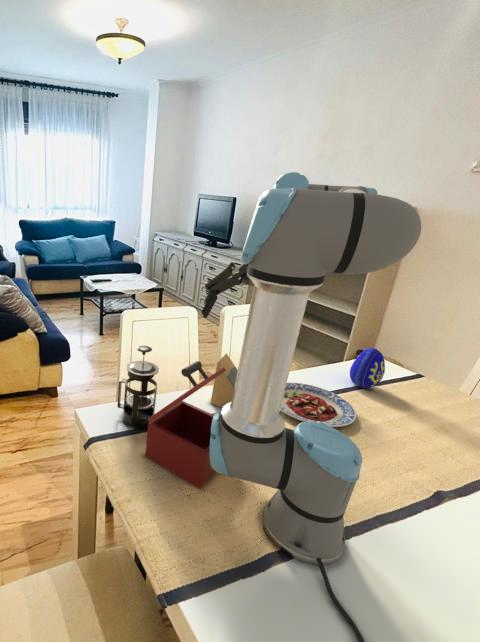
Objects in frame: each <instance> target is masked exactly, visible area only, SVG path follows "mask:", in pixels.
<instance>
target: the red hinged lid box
mask: <svg viewBox="0 0 480 642" xmlns="http://www.w3.org/2000/svg"><path fill="white" fill-rule="evenodd" d="M213 416H214V414H212V413H210V412H208V411H206V410H203V409H202V408H199V407H197V406H195V405H194V404H193V405H192V404H190V403H189V402H186V401H184V400H183V401H181V402H180V403H178V404H177V405H175V406H174V407H172V408H171V409H169V410H168V411H166V412H165V413H163V414H162V415H161V416H159V417H158V418H156V419H155V420H153V421H152V422H149V423H148V428H147V435H146V445H145V454H144V456H145V457H146V458H148V459H149V460H151V461H153V462H155V463H156V464H158V465H160V466H161V467H162V468H165V469H166V470H168V471H169V472H172V473H173V474H175V475H176V476H177V477H179V478H181V479H183V480H184V481H186V482H188V483H189V484H191V485H193V486H194V487H196V488H197V489H199V490H200V489H202V488H203V487H204V486H205V484H207V483H208V481H209V480H210V479H211V478H212V477H214V475H215V474H216V473H217V472H216V471H215V470H214V469H213V468H212V467H211V464H210V439H211V426H212V419H213Z"/></svg>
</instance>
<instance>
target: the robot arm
mask: <svg viewBox="0 0 480 642" xmlns="http://www.w3.org/2000/svg"><path fill="white" fill-rule="evenodd" d="M421 233H422V220H421V216H420V214H419V212H418V211H417V209H416V208H415V207H414V206H413V205H412V204H410V203H408V202H407V201H405V200H402V199H400V198H398V197H397V198H396V197H392V196H388V195H384V194H378V191H377V189H376V188H374V187H367V186H361V185H358V186H349V185H332V184H331V185H329V184H318V183H317V184H316V183H310V181H309V178H307V176H305V174H300V173H299V172H297V171H291V172H286V173H284V174H282V175H280V176H279V177H278V178H277V179H276V180H275V182H274V185H273V188H270V189H267V190H265V191H264V192H262V193H261V194H260V196H259V198H258V201H257V203H256V207H255V210H254V212H253V217H252V218H251V222H250V224H249V229H248V231H247V235H246V237H245V241H244V246H243V248H242V252H241V255H240V258H239V260H240V262H241V263H242V264H241V265H237V264H236V263H235V262H233V261H232V262H230V263H229V264H228V265H227V267H226V268H225V269H223V270H222V271H221V272H220V273H219V274H217V275H215V276H214V277H213V278H212V279H211V280H209V281H208V282H207V283H206V284H204V288H205V291H206V292H207V295H206V296H205V299H204V303H205V304H204V306H203V308H202V310H201V315H202V317H203V319H207V318H208V316H209V315H210V313H211V311H212V309H213V307H214V306H215V304H216V302H217V300H218V298H219V297H218V295H220V294H222V293H224V292H226V291H228V290H230V289H232V288H234V287H236V286H240V285H245V286H251V287H253V288H252V294H251V300H250V304H249V309H248V315H247V319H246V324H245V329H244V330H245V331H244V335H243V340H242V346H241V351H240V357H239V361H238V366H237V370H238V371H237V377H236V382H235V387H234V392H233V397H232V402H229V403H227V404H226V405H225V406H224V407H223V408H222V407H221V412H215V413H213V415H214V416H213V419H212V426H211V439H210V464H211V467H212V468H213V469H214V470H215V471H216V473H218V474H221V475H223V476H227V477H229V478H231V479H239V480H242V481H246V482H250V483H252V484H253V483H254V484H257V485H260V486H264V487H268V488H273V489H276V490H277V491H276V492H275V493H273V495H272V496H271V498H270V499H269V500H268V501H267V503H266V504H265V506H264V509H263V511H262V516H261V521H262V526H263V529H264V532H265V534H266V535H267V537H268V538H269V540H271V542H272V543H273V544H274V545H275V546H276V547H277V548H278V549H279V550H281V551H282V552H284V553H285V555H288V556H290V557H291V558H293V559H295V560H297V561H300V562H303V563H305V564H308V565H309V564H310V565H315V566H318V567H319V571H320V573H321V575H322V578H323V582H324V585H325V588H326V591H327V593H328V595H329V597H330V599H331V600H332V602H333V604H334V606H335V607H336V608H337V609H338V611H339V613H340V614H341V616H343V618H344V619H345V620H346V622H347V623H348V625H349V626H350V628H351V629H352V631H353V633H354V634H355V636H356V638H357V641H358V642H365V639H364V637H363V635H362V633H361V631H360V630H359V627H358V626H357V625H356V623H355V622H354V620H353V619H352V617H351V616H350V615H349V614H348V613H347V611H346V610H345V608H344V607H343V605H342V604H341V603H340V602H339V600H338V598H337V597H336V595H335V593H334V591H333V589H332V586H331V583H330V579H329V576H328V574H327V571H326V568H325V566H326V565H327V566H328V565H331V564H334V563H335V562H337V561H338V560H340V558H341V557H342V555H343V552H344V550H345V547H346V533H345V519H344V517H345V516H344V515H345V513H346V510H347V508H348V505H349V503H350V500H351V497H352V494H353V492H354V489H355V487H356V484H357V483H358V480H359V479H360V473H361V468H362V464H363V455H362V452H361V450H360V448H359V447H358V446H357V444H356V443H355V442H354V441H353V440H352V439H351V438H350V437H348V436H347V435H346V434H344V433H343V432H341V431H340V430H338V429H336V428H335V427H330V426H328V425H325V424H322V423H318V422H313V421H307V422H303V421H300V423H299V424H297V425H296V426H295V428H294V429H292V428H288V427H286V426H285V425H286V422H285V420H284V418H283V417H282V415H281V414H280V412H281V410H280V407H281V403H282V399H283V395H284V391H285V387H286V383H288V378H289V375H290V371H291V366H292V362H293V360H294V354H295V351H296V348H297V343H298V339H299V335H300V331H301V328H302V324H303V320H304V315H305V312H306V308H307V305H308V300H309V295H310V294H311V293H312V292H313V291H315V290H316V289H318V288H320V287H322V286H323V284H324V280H325V277H326V274H327V273H333V274H344V275H363V274H364V275H365V274H369V273H375V272H377V271H380V270H384V269H387V268H389V267H391V266H393V265H394V264H396V263H399V262H400V261H401V260H403V259H404V258H405V257H406V256H408V254H409V253H410V252H411V251H412V250H413V249H414V248H415V247H416V245H417V244H418V241H419V239H420V236H421ZM239 278H240V279H239Z"/></svg>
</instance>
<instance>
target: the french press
mask: <svg viewBox="0 0 480 642" xmlns="http://www.w3.org/2000/svg"><path fill="white" fill-rule="evenodd" d="M136 350H137V351H138V352H140V353H141V354H142V360H135V361H131V362H129V363H128V364H127V365H126V368H125V369H126V371H127V376H128V378H120V379H119V381H118V391H117V408H118V409H123V412H122V418H121V419H122V422H123V423H124V425H126V426H127V427H129V428H131V429H137V430H145V429H148V423H149V421H148V419H149V418H150V417H151V416H153V415H154V414H155V412H156V401H157V391H158V383H157V381H156V380H155V379H153V378H154V377H155V375H157V374H158V373H159V371H160V368H159V366H158V365H157V364H155V363H153V362H151V361H146V360H145V355H146V353H150V352H152V350H153V348H152V347H150V346H149V345H138V346H137V347H136ZM134 381H136V382H140V385H139V387H140V388H139V390H137V389H133V388H131V387H129V386H128V385H129V383H131V382H134ZM122 383H123V384H125V385H124V386H125V387H124V398H123V404H122V403H121V400H122V399H121V398H122V396H121V395H122ZM149 383H151V384H152V385H154V388H153V389H150V390H148V388H149V387H148V386H149ZM128 393H130V394H128ZM151 395H154V396H153V397H152V396H151ZM139 413H142V414H145V415H147V417H139ZM130 414H131V415H130Z"/></svg>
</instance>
